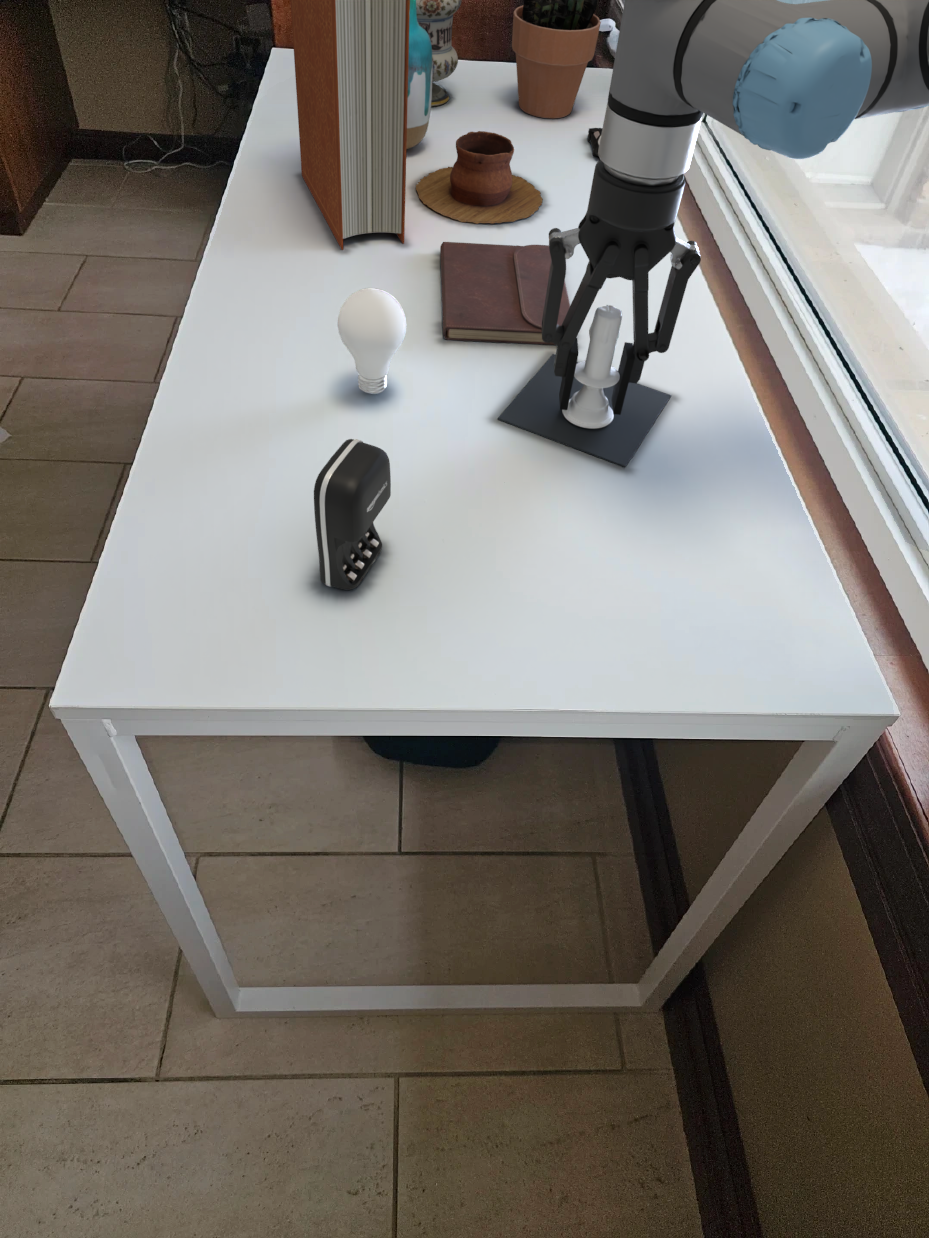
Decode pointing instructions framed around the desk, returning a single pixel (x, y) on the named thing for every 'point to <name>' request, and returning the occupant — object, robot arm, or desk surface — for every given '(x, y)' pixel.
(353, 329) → the light bulb
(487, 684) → the desk surface
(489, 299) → the notebook
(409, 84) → the vase
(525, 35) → the potted plant
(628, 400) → the mat
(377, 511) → the battery charger
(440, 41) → the apothecary jar
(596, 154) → the toy car
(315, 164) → the book
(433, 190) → the ceramic pot
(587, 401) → the candle
